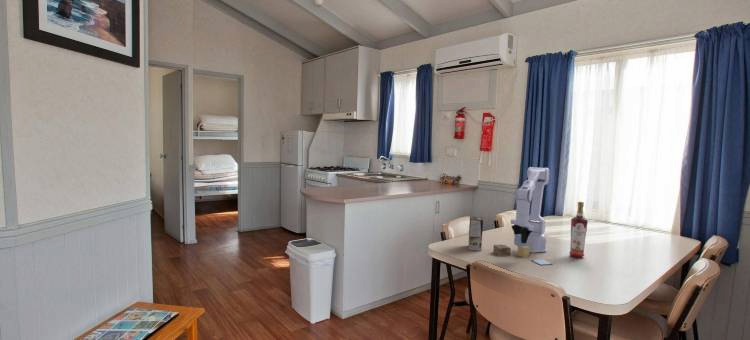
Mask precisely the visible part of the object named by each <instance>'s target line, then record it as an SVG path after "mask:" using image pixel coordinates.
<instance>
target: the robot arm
mask: <svg viewBox="0 0 750 340" xmlns="http://www.w3.org/2000/svg"><path fill="white" fill-rule="evenodd" d="M526 175H527V176H526V177H527V180H525V181H523V183H522V185H521V186H520V187H519V188H517V189H516V191H515V204H516V209H515V210H516V213H515V219H510V224H512V225H511V230H512V231H513V234H514V236H515V234H521V242H522V243H526V242H527V246H529V247H530V252H529V253H531V254H532V253H535V254H536V253H547V250H546V245H547V243H546V242H547V241H546V240H547V238H546V236H545V235H544V234H545V232H546V220H545V219H544V218H543V217H542V216H541V211H542V203H543V194H544V188H545V186H546V185H548V184H549V181H550V169H549V168H548V167H534V166H532V167H531V166H529V167H528V168H527V171H526ZM530 203H531V204H530ZM530 206H531V207H530ZM530 208H531V209H530Z"/></svg>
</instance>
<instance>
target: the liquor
mask: <svg viewBox="0 0 750 340" xmlns="http://www.w3.org/2000/svg"><path fill="white" fill-rule="evenodd" d="M584 204H585V203H584V201H577V211H576V216H574V217H572V218H571V219H570V220H571V221H570V250H569V253H568V254H569V255H570V256H571V257H573V258H577V259H581V258H584V256H585V244H586V236H587V229H588V222H589V220H588V219H587V218H585V217H584V206H585V205H584Z"/></svg>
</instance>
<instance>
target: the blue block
mask: <svg viewBox="0 0 750 340" xmlns="http://www.w3.org/2000/svg"><path fill="white" fill-rule="evenodd" d="M513 242H514V243H513V244H514V246H515V247H518V246H519V247H524V246H527V242H526V243H522V242H521V234H515V235H514V241H513Z"/></svg>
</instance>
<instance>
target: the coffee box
mask: <svg viewBox="0 0 750 340" xmlns="http://www.w3.org/2000/svg"><path fill="white" fill-rule="evenodd" d="M468 225H469V226H468V227H469V229H468V249H469V250H470V251H479V252H481V251H482V244H483V229H484V228H483V227H484V219H483V217H481V216H469V224H468Z"/></svg>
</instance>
